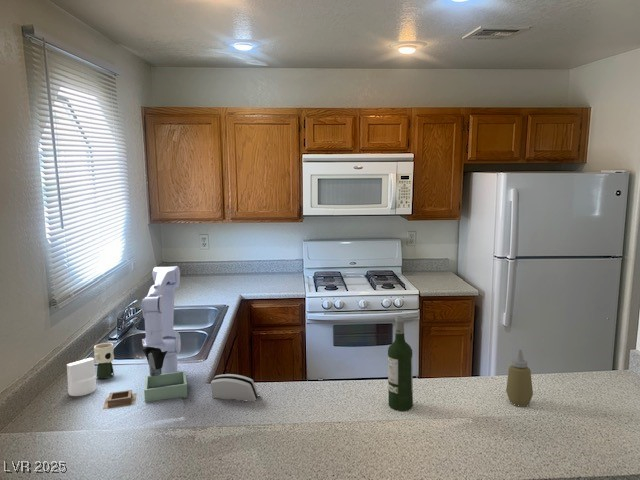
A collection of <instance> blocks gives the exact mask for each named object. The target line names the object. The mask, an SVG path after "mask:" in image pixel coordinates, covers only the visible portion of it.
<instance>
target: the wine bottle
mask: <svg viewBox="0 0 640 480" xmlns="http://www.w3.org/2000/svg"><path fill="white" fill-rule="evenodd" d="M394 319H395V333H394V337H395V338H394V341H393V342H392V343H391V344H389V346H388V349H387V380H388V381H387V382H388V383H387V385H388V386H387V387H388V391H387V392H388V394H387V395H388V397H387V398H388V399H387V400H388V406H390V407H389V408H390V409H392V410H393V409H394V411H397V410H398V411H397V412H406V410H407V411H409V409H410V410H411V409H413V406H414V405H413V403H414V396H413V395H414V394H413V393H414V389H413V388H414V387H413V385H414V384H413V383H414V381H413V349H412V347H411V346H410V344H409V343H408V342H407V341H406V339H405V318H404V316H403V315H396V316H395V318H394Z"/></svg>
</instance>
